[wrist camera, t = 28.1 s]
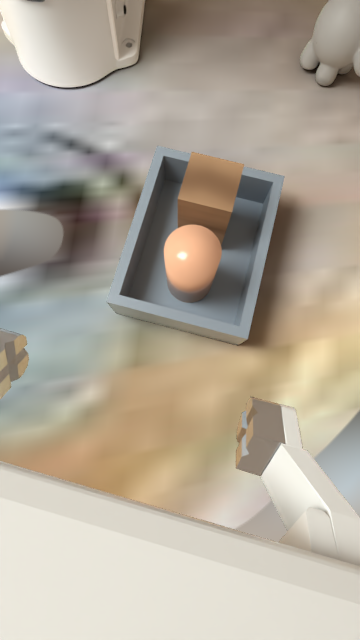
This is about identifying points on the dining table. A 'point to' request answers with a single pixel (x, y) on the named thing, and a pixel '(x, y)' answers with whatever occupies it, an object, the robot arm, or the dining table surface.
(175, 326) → the box
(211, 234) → the ball
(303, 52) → the round bodied animal figurine
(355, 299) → the dining table surface
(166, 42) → the dining table surface
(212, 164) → the walnut block
